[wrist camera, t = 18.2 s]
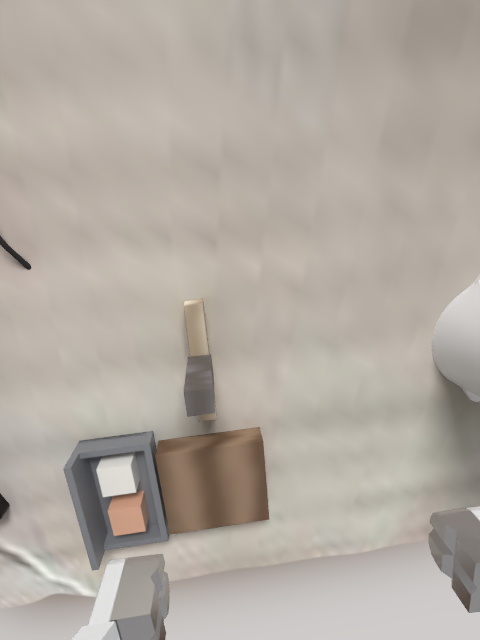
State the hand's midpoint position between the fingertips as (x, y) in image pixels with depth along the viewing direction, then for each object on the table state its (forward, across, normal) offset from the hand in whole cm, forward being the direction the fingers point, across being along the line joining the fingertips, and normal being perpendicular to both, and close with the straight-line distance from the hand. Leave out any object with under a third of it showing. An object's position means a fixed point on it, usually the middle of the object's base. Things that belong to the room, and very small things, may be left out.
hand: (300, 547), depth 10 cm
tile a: (+27, +16, +19) cm, 37 cm away
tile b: (+27, +16, +25) cm, 40 cm away
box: (+30, +16, +22) cm, 41 cm away
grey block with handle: (+30, +5, +6) cm, 31 cm away
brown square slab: (+30, +5, +22) cm, 38 cm away
